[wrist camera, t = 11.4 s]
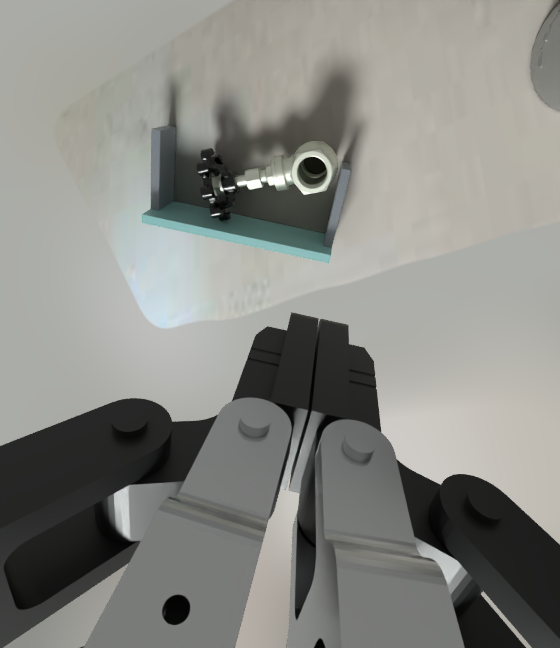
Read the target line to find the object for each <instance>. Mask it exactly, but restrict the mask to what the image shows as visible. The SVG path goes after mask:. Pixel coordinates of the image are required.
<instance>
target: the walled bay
mask: <svg viewBox="0 0 560 648" xmlns="http://www.w3.org/2000/svg"><path fill="white" fill-rule="evenodd" d="M175 147H176V127H174V126H169V125H168V126H163V127H158V128H153V129H152V136H151V209H150V210H148V211H147V212H145V213H144V214H142V223H146V224H150V225H155V226H159V227H164V228H169V229H173V230H178V231H183V232H187V233H192V234H196V235H201V236H206V237H210V238H215V239H219V240H224V241H229V242H233V243H238V244H243V245H247V246H252V247H256V248H261V249H266V250H270V251H275V252H280V253H284V254H289V255H293V256H298V257H303V258H307V259H312V260H316V261H321V262H326V263H329V261H330V257H331V248H332V244H333V240H334V236H335V232H336V228H337V224H338V220H339V216H340V212H341V208H342V204H343V200H344V196H345V192H346V188H347V184H348V180H349V176H350V172H351V165H350V163H346V162H342V165H341V169H340V173H339V177H338V181H337V186H336V190H335V194H334V198H333V202H332V207H331V211H330V215H329V219H328V223H327V228H326V232H325V233H320V232H316V231H311V230H306V229H302V228H297V227H292V226H288V225H283V224H278V223H274V222H269V221H264V220H260V219H255V218H250V217H246V216H241V215H236V214H232V213H230V214H231V219H230V220H225V221H220V220H219V218H212V217H211V215H210V209H208V208H204V207H199V206H194V205H190V204H185V203H180V202H176V201H173V199H174V173H175ZM226 213H227V212H226Z"/></svg>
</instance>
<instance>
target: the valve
mask: <svg viewBox="0 0 560 648" xmlns="http://www.w3.org/2000/svg"><path fill="white" fill-rule="evenodd" d="M212 155H214V151H213V149H212V148H210V149H205V150H202V151H201V158H202V160H203V162H199V163H197V170H198V173H199V175H200V176H202V177H203V180H204V187H201V195H202V198H203V199H204V200H207V199H209V201H210V204H211V207H210V215H211V217H212V218H219V220H220V221H225V220H230V219H231V214H230V212H227V213H226V212H225V209H226V208H229V207H232V206H233V203H234V201H235V194H236V193H239V192H240V187H243V186H247V187H248V188H249V190H251V189H256V188H261V187H263V186H264V183H269V185H270V186H271V185H275V187H276V189H277V190H278V191H281V190H286V189H289V185H292V184H295V185H296V186H297V187H298V188H299V189H300V191H301V192H302V193H303V194H304V195H305V194H312V193H317V192H322V191H326V190H327V188H328V185H329V184H330V183H331V182H332V181H333V180H334V178H335V176H336V173H337V169H338V161H337V157H336V154H335V152H334V151H333V149H332V148H331V147H330V146H329V145H327V144H326V143H325V142H324V141H310V142H306V143H304V144H303V145H301V146H300V147H299V148H298V149H297V150H296V152H295V153H294V155H293V156H292V157H289V158H284V156H283V155H280V156H275V157H272V158H271V165H267V166H266V169H265V170H261V168H260V167H257V168H252V169H248V170H246V171H245V175H240V176H238V175H237V173H236V172H235V171H232V172H229V171H228V169H227V168H226V167H225V166H223V165H222V164H223V161H222V158H221V156H220V155H215V156H212ZM307 157H317V158H319V159H321V160H322V161H323V162H324V164H325V165H326V168H327V169H326V170H325V171H324V172H323V173H321V174H311V173H309V172H308V171H307V170H306V168H305V166H304V161H303V160H304V159H305V158H307ZM212 173H214V175H215V177H213V178H212ZM218 195H219V201H218V199H217V197H216V196H218ZM227 195H228V197H227Z"/></svg>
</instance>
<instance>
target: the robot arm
mask: <svg viewBox="0 0 560 648" xmlns="http://www.w3.org/2000/svg"><path fill="white" fill-rule="evenodd" d="M530 69H531V80H532V83H533V86H534V89H535V91H536V93H537V94H538V96H539V97H540V99H541V100H542V101H543V102H544V103H545V104H547V105H548V106H549V107H551V108H553V109H555V110H557V111H560V3H559V4H558V5H557V6H556V7H555V8H554V9H553V11H552V12H551V13H550V15H549V16H548V18H547V19H546V20H545V22H544V23H543V25H542V27H541V29H540V31H539V33H538V35H537V37H536V41H535V44H534V47H533V50H532V56H531V63H530ZM291 470H292V471H291ZM290 473H291V479H290V486H289V491H293V492H298V493H300V497H299V506H298V511H297V514H296V518H295V521H294V524H293V534H292V535H293V536H292V560H291V588H290V614H289V630H288V639H287V645H286V648H526V647H525V646H524V645H523V644H522V643H521V641H520V640H519V639H518V638H517V637H516V635H515V634H514V633H513V632H512V631H511V630H510V628H509V627H508V626H507V625H506V624H505V622H504V621H503V620H502V619H501V618H500V617H499V615H498V614H497V613H496V612H495V611H494V610H493V608H492V607H491V606H490V605H489V604H488V602H487V601H486V600H485V599H484V598H483V597H482V595H481V592H483V591H484V592H485V593H486V594H487V596H488V597H489V598H490V599H491V600H492V601H493V603H494V604H495V605H496V606H497V607H498V609H499V610H500V611H501V612H502V613H503V614H504V615H505V617H506V618H507V619H508V620H509V621H510V622H511V624H512V625H513V626H514V627H515V628H516V629H517V631H518V632H519V633H520V634H521V635H522V636H523V638H524V639H525V640H526V641H527V642H528V643H529V645H530V646H531V647H532V648H560V545H559V544H558V543H557V542H556V541H555V540H554V539H553V538H552V537H551V536H550V535H549V534H548V533H547V532H545V531H544V530H543V529H542V528H541V527H540V526H539V525H538V524H537V523H536V522H535V521H534V520H532V519H531V518H530V517H529V516H528V515H527V514H526V513H525V512H524V511H523V510H521V508H519V507H518V506H517V505H516V504H515V503H514V502H513V501H512V500H511V499H510V498H509V497H508V496H507V495H505V494H504V493H503V492H502V491H501V490H499V489H498V488H496V487H495V486H494V485H492V484H490V483H489V482H487V481H485V480H483V479H480V478H478V477H475V476H471V475H465V474H457V475H452V476H450V477H448V478H446V479H445V480H444V481H443V483H442V484H441V485H440V484H438V483H436V482H434V481H432V480H430V479H428V478H426V477H424V476H422V475H420V474H417V473H416V472H414V471H412V470H410V469H409V468H407V467H406V466H404V465H403V464H402V463H400V462H399V461H398V460H397V459H396V455H395V452H394V449H393V447H392V445H391V443H390V442H389V440H388V439H387V438H386V437H385V436H384V435H383V434H382V433H381V426H380V417H379V407H378V398H377V390H376V380H375V370H374V361H373V360H372V358H371V357H370V355H369V354H368V353H367V351H366V350H365V348H363V347H359V346H354V345H350V344H349V336H348V325H346V324H342V323H337V322H333V321H328V320H324V319H320V322H319V325H318V318H314V317H310V316H305V315H301V314H296V313H291V317H290V321H289V325H288V329H287V331H286V330H281V329H277V328H272V327H266V328H265V329H263V330H262V331H261V332H259V333H258V334H257V335H256V336H255V339H254V341H253V345H252V347H251V350H250V353H249V355H248V359H247V361H246V364H245V367H244V369H243V372H242V375H241V378H240V380H239V384H238V386H237V389H236V391H235V394H234V397H233V400H232V402H230V403H228V404H227V405H225V406H224V407H223V408H222V409H221V411H220V412H219V414H218V415H216V416H215V417H212V418H209V419H205V420H200V421H181V422H172V420H171V417H170V415H169V413H168V412H167V411H166V410H165V409H164V408H163V407H162V406H161V405H159V404H157V403H155V402H153V401H150V400H145V399H137V398H135V399H134V398H131V399H123V400H118V401H116V402H112V403H110V404H107V405H104V406H102V407H99V408H97V409H94V410H92V411H89V412H86V413H84V414H81V415H79V416H76V417H74V418H71V419H68V420H66V421H63V422H61V423H58V424H56V425H53V426H51V427H48V428H45V429H43V430H40V431H38V432H35V433H33V434H30V435H27V436H25V437H23V438H20V439H17V440H15V441H12V442H10V443H7V444H5V445H2V446H0V648H3V647H4V646H6V645H7V644H9V643H10V642H12V641H13V640H15V639H16V638H18V637H19V636H21V635H22V634H24V633H25V632H27V631H28V630H30V629H31V628H32V627H34V626H35V625H37V624H39V623H40V622H42V621H43V620H45V619H46V618H47V617H49V616H50V615H52V614H53V613H55V612H56V611H58V610H59V609H61V608H62V607H64V606H65V605H67V604H68V603H70V602H71V601H73V600H74V599H76V598H77V597H79V596H80V595H82V594H83V593H85V592H86V591H88V590H89V589H90V588H92V587H94V586H95V585H97V584H98V583H100V582H101V581H102V580H104V579H105V578H107V577H108V576H110V575H111V574H113V573H114V572H116V571H117V570H119V569H120V568H122V567H123V566H125V565H126V564H128V563H129V564H128V566H127V568H126V570H125V572H124V573H123V575H122V577H121V579H120V581H119V583H118V585H117V586H116V588H115V590H114V592H113V594H112V596H111V598H110V600H109V602H108V603H107V605H106V607H105V609H104V611H103V613H102V614H101V616H100V618H99V620H98V622H97V624H96V626H95V628H94V629H93V631H92V633H91V635H90V637H89V639H88V641H87V642H86V644H85V646H83V647H81V648H235V645H236V641H237V638H238V634H239V630H240V626H241V622H242V619H243V615H244V611H245V607H246V603H247V600H248V596H249V592H250V588H251V584H252V580H253V577H254V573H255V569H256V565H257V561H258V557H259V554H260V550H261V546H262V542H263V538H264V535H265V531H266V527H267V523H268V520H269V518H270V517H271V516H272V514H273V512H274V509H275V505H276V502H277V498H278V494H279V491H280V489H284V490H286V487H287V484H288V480H289V477H290Z"/></svg>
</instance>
